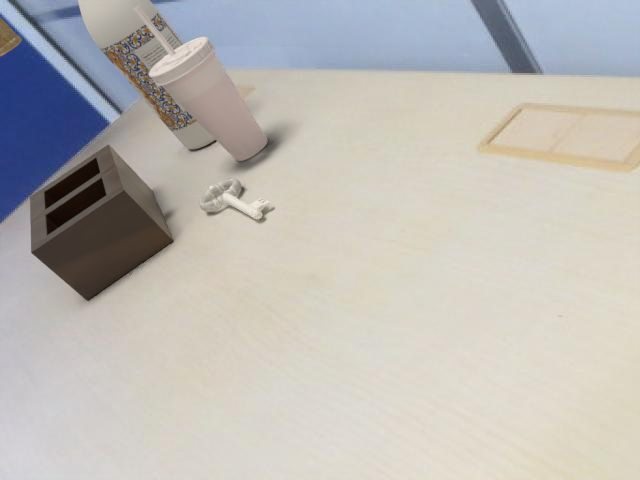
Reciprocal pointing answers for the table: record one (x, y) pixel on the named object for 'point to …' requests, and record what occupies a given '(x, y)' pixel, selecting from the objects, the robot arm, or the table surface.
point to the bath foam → (141, 58)
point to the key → (230, 199)
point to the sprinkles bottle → (7, 38)
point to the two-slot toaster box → (96, 223)
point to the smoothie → (207, 93)
